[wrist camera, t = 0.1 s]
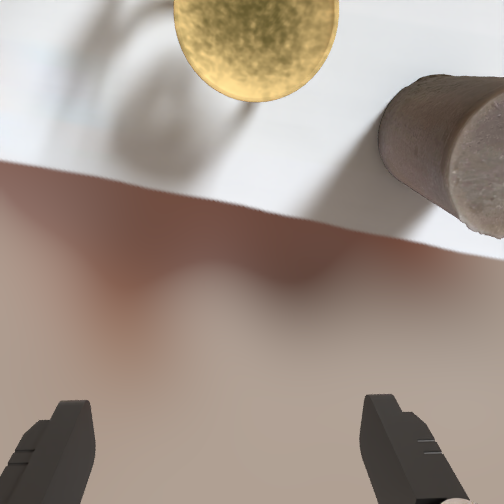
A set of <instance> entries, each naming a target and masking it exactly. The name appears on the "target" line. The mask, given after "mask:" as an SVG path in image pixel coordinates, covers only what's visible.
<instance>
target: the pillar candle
mask: <svg viewBox="0 0 504 504" xmlns="http://www.w3.org/2000/svg"><path fill="white" fill-rule="evenodd" d="M378 145H379V152H380V155H381V158H382V160H383V163H384V165H385V166H386V168H387V169H388V171H389V172H390V173H391V174H392V175H393V176H394V177H395V178H396V179H398V180H399V181H401V182H402V183H404V184H406V185H407V186H409V187H410V188H411V189H413V190H414V191H416V192H417V193H419V194H421V195H422V196H424V197H425V198H427V199H428V200H430V201H431V202H433V203H434V204H436V205H437V206H439V207H441V208H442V209H444V210H445V211H447V212H448V213H450V214H452V215H453V216H455V217H456V218H457V219H459V220H460V221H461V222H462V223H465V224H466V226H467V227H468V228H469V229H471V230H472V231H474V232H479V233H480V234H485V235H489V236H492V237H495V238H497V239H501V238H503V237H504V77H476V76H451V75H445V74H438V75H429V76H425V77H422V78H419V79H418V80H417V81H416V82H414V83H412V84H411V85H410V86H408V87H405V88H403V89H402V90H401V91H400V92H399V93H398V94H397V95H396V96H395V97H394V98H393V100H392V101H391V102H390V104H389V105H388V107H387V109H386V111H385V113H384V115H383V118H382V120H381V123H380V127H379V132H378Z"/></svg>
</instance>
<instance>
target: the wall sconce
mask: <svg viewBox="0 0 504 504" xmlns="http://www.w3.org/2000/svg"><path fill="white" fill-rule="evenodd" d="M338 18H339V0H174V23H175V29H176V33H177V37H178V41H179V43H180V46H181V49H182V51H183V53H184V55H185V57H186V59H187V61H188V62H189V64H190V65H191V67H192V68H193V70H194V71H195V72H196V73H197V74H198V76H199V77H200V78H201V79H202V80H203V81H204V82H206V83H207V84H208V85H209V86H210V87H212V88H213V89H215V90H216V91H218V92H220V93H222V94H224V95H226V96H228V97H231V98H234V99H236V100H241V101H246V102H267V101H272V100H276V99H279V98H282V97H285V96H287V95H289V94H291V93H293V92H295V91H297V90H298V89H299V88H301V87H302V86H304V85H305V84H306V83H307V82H308V81H309V80H310V79H312V78H313V76H314V75H315V74H316V73H317V72H318V71H319V69H320V68H321V66H322V65H323V63H324V62H325V60H326V58H327V56H328V54H329V52H330V50H331V48H332V45H333V42H334V39H335V36H336V31H337V27H338Z"/></svg>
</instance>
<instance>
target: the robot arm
mask: <svg viewBox="0 0 504 504" xmlns="http://www.w3.org/2000/svg"><path fill="white" fill-rule="evenodd" d="M359 440H360V450H361V455H362V459H363V461H364V464H365V467H366V469H367V473H368V476H369V478H370V481H371V484H372V487H373V489H374V492H375V495H376V498H377V501H378V503H379V504H477V503H474V502H472V501H470V499H469V498H468V496H467V494H466V493H465V491H464V489H463V487H462V486H461V484H460V482H459V481H458V479H457V477H456V475H455V473H454V472H453V470H452V468H451V466H450V465H449V463H448V461H447V460H446V458H445V456H444V454H442V451H441V449H440V447H439V446H438V444H437V442H435V439H434V437H433V435H432V434H431V432H430V430H429V429H428V427H427V425H426V424H425V423H424V422H423V421H422V420H421V419H420V418H418V417H417V416H416V415H415V414H414V413H413V412H402V410H401V408H400V407H399V405H398V403H397V401H396V399H395V397H394V396H393V395H392V394H377V395H376V394H374V395H366V396H365V400H364V406H363V413H362V421H361V428H360V438H359ZM94 458H95V435H94V428H93V421H92V414H91V406H90V402H89V401H88V400H70V401H60V403H59V404H58V406H57V407H56V409H55V411H54V413H53V415H52V417H51V419H50V420H39V421H38V422H37V423H36V424H35V425H33V426H32V427H31V428H30V429H29V430H28V431H27V432H26V433H25V434H24V435H23V437H22V439H21V440H20V442H19V444H18V446H17V448H16V449H15V453H13V455H12V456H11V458H10V460H9V462H8V466H6V467H5V469H4V471H3V473H2V474H1V476H0V504H80V502H81V499H82V496H83V493H84V490H85V487H86V484H87V481H88V478H89V476H90V472H91V470H92V466H93V463H94Z"/></svg>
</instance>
